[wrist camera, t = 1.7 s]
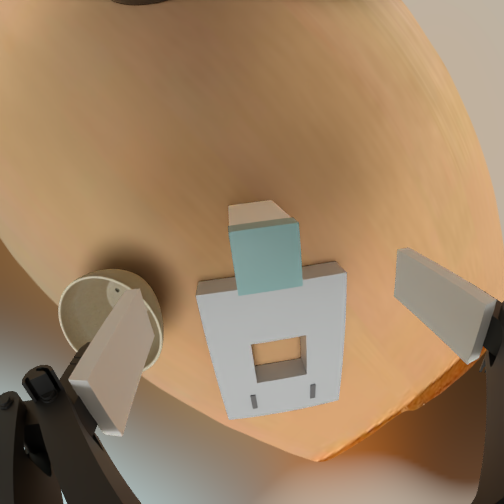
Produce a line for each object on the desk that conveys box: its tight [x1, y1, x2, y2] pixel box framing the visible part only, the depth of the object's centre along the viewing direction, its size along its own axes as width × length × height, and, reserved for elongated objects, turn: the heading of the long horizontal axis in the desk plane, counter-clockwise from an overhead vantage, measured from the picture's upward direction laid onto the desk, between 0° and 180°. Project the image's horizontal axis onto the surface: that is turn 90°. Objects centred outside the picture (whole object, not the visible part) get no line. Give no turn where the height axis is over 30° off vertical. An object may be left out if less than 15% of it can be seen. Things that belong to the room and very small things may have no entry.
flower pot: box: [58, 269, 163, 372], centre depth 24 cm, size 10×10×7 cm
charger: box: [228, 200, 303, 296], centre depth 22 cm, size 4×4×10 cm
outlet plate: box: [196, 261, 347, 420], centre depth 29 cm, size 18×14×3 cm
